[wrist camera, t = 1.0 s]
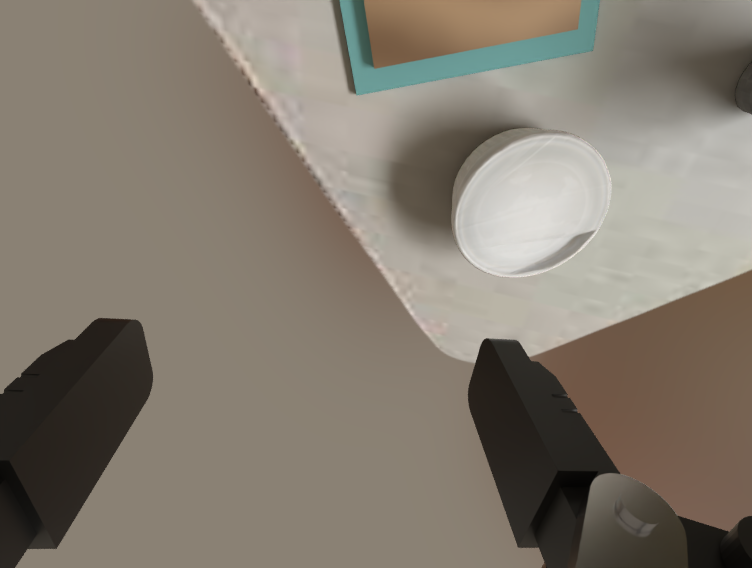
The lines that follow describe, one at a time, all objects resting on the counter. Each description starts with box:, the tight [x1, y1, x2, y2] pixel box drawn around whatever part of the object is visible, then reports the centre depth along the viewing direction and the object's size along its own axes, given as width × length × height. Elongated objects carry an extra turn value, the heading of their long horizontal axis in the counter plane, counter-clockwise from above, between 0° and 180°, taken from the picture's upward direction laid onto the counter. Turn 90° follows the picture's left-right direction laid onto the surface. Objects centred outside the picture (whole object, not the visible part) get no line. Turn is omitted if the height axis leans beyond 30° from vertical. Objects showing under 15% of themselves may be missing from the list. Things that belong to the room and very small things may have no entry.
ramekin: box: [451, 128, 611, 278], centre depth 30 cm, size 11×11×5 cm
